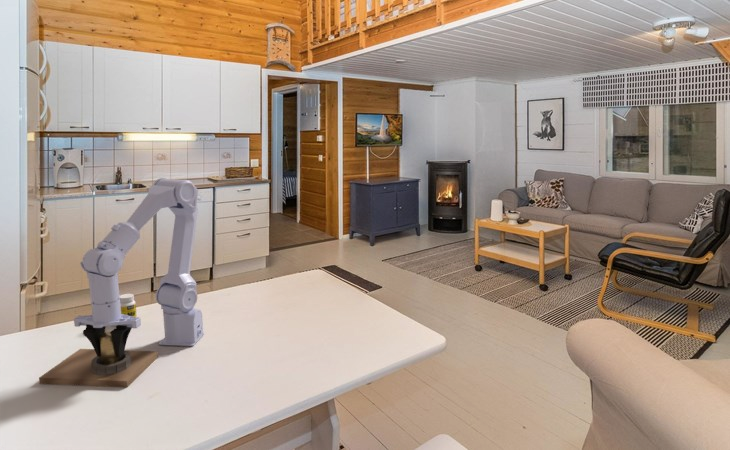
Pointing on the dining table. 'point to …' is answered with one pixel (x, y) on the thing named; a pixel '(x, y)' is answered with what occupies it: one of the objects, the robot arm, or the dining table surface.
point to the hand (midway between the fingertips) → (110, 354)
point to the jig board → (99, 369)
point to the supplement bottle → (128, 305)
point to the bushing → (108, 349)
